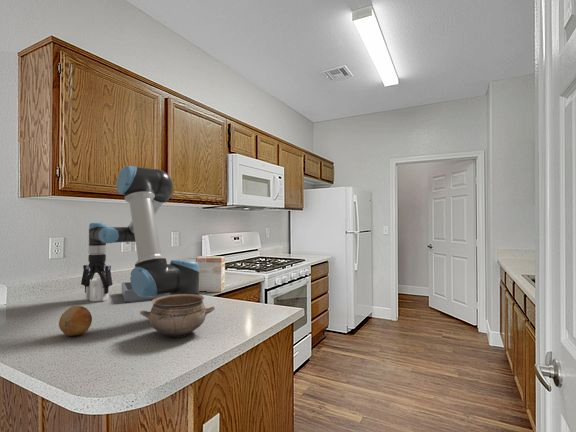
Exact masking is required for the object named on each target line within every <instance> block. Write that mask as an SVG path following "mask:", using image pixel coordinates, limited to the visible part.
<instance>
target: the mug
mask: <svg viewBox="0 0 576 432" xmlns="http://www.w3.org/2000/svg"><path fill="white" fill-rule="evenodd" d="M89 286H90V296H89V298H90V299H89V301H90V302H92V303H93V302H98V303H99V302H103V301H102V287H104V286H103V283H102V281H101V278H100V277H97V278H93V279H92V280H90V285H89ZM109 288H110V287H109ZM109 288H108V291H109ZM108 299H109V292H108V293H107V300H108Z"/></svg>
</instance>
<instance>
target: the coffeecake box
mask: <svg viewBox="0 0 576 432" xmlns="http://www.w3.org/2000/svg"><path fill="white" fill-rule="evenodd" d="M225 260H226V256H225V255H224V256H221V255H219V256H213V255H211V256H210V255H209V256H205V255H203V256H202V255H200V256H196V257H195V262H197V263H198V264H199V271H200V273H199V291H207V292H206V293H222V292H224V291H225V290H226V289H225V288H226V287H225V283H226V282H225V281H226V279H225V278H226V271H225V270H226V263H225V262H226V261H225Z"/></svg>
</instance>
